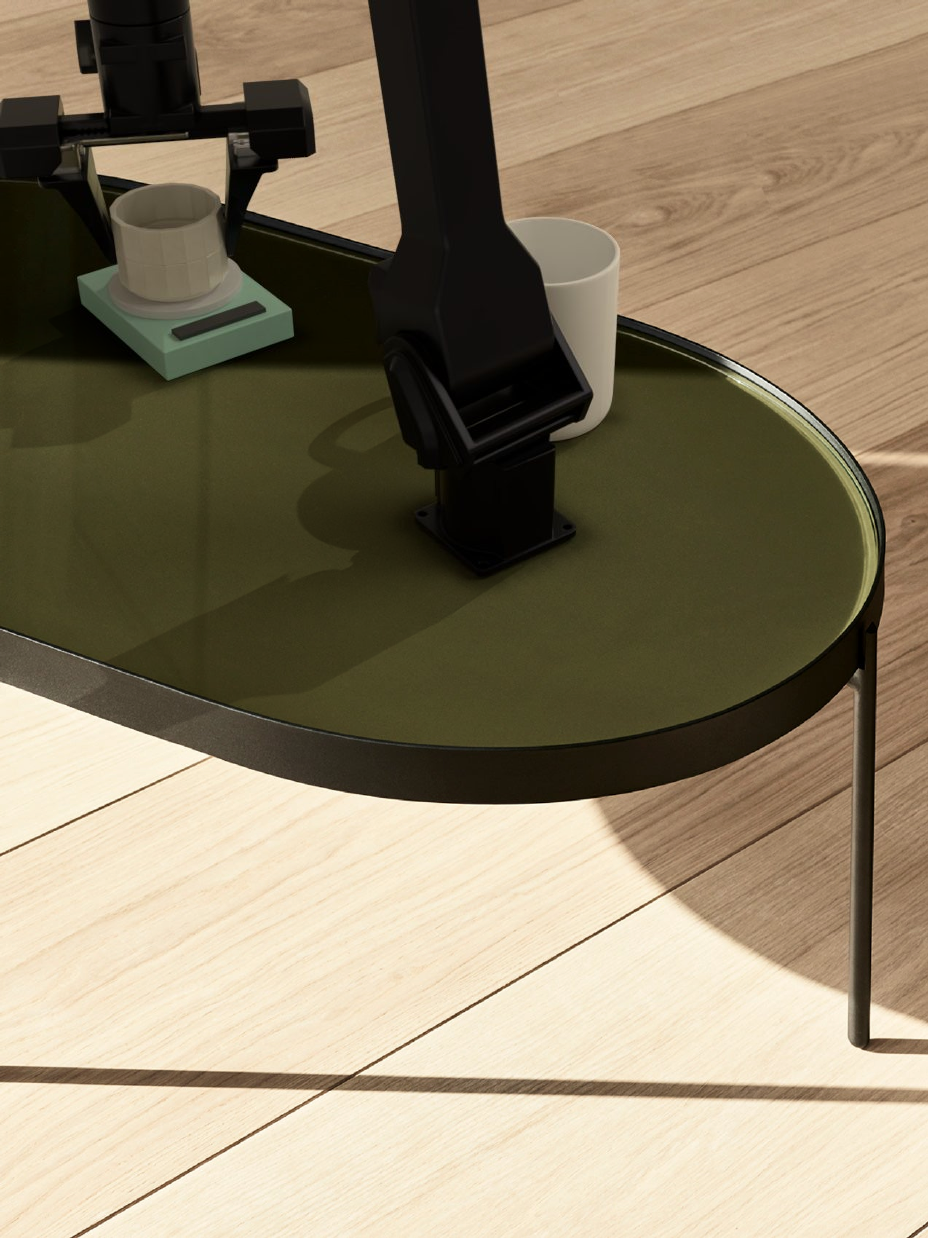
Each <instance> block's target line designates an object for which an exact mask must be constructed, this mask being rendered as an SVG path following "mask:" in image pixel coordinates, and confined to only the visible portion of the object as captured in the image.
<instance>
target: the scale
mask: <svg viewBox="0 0 928 1238" xmlns="http://www.w3.org/2000/svg"><path fill="white" fill-rule="evenodd" d="M228 266H229V272H228V274H227V275H226V277H225V279H224V280H223V281H222V282H221V283H219V285H218V286H217V287H216V288H215V289H213V290H212V291H210V292H209V293H207V294H205V295H203V296H200V297H197V298H194V299H190V300H185V301H177V302H159V301H152V300H148V299H145V298H142V297H140V296H138V295H136V294H135V293H133V292H131V291H130V290H128V289H127V288H126V287H125V286H124V285H123V284H122V283H121V281H120V275H119V268H118V263H117V265H110V266H108V267H105V268H101V269H98V270H95V271H91V272H89V273H85V274H82V275H79V276H77V278H76V280H77V286H78V292H79V296H80V302H81V305H82V306H83V307H85V309H87V310H88V311H89V312H90V313H91V314H92V315H93V316H94V317H96V318H97V319H98V320H99V321H100V322H101V323H102V324H104V325H105V326H106V327H107V328H108V330H110V331H111V332H112V333H113V334H114V335H116V336H117V337H118V338H119V339H120V340H121V341H122V342H123V343H125V344H126V345H127V346H128V347H129V348H130V349H131V350H132V351H134V352H135V353H136V355H138V356H139V357H140V358H141V359H142V360H144V362H146V363H147V364H148V365H149V366H150V367H151V368H152V369H154V371H156V372H157V373H158V374H159V375H161V377H163V378H164V379H165V380H166V381H172V380H175V379H177V378H180V377H183V376H186V375H189V374H192V373H194V372H197V371H200V370H202V369H203V370H204V369H207V368H209V367H212V366H214V365H217V364H220V363H223V362H225V361H228V360H229V361H230V360H231V359H234V358H237V357H240V356H242V355H245V354H248V353H251V352H254V351H256V350H260V349H263V348H265V347H268V346H271V345H275V344H277V343H280V342H283V341H285V340H288V339H291V338H293V337H295V332H294V320H293V310H292V308H291V307H290V306H288V305H287V304H286V303H284V302H283V301H282V300H280V299H279V298H277V296H276V295H274V294H273V293H271V292H270V291H269V290H268V289H266V288H264V287H263V286H262V285H260V284H259V283H258V282H257V281H255V280H254V279H253V278H252V277H250V276H249V275H248V274H246V273H245V272H244V271H242V270H241V268H240V266H239V265H238V263H236V262H235V261H234V260H233V259H231V258H230V257H228Z"/></svg>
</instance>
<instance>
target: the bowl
mask: <svg viewBox="0 0 928 1238" xmlns="http://www.w3.org/2000/svg"><path fill="white" fill-rule="evenodd" d="M108 211H109V218H110V223H111V226H112V230H113V236H114V243H115V249H116V255H117V264H118V268H119V275H120V281H121V283H122V284H123V285H124V286H125V287H126V288H127V289H128V290H130V291H131V292H133V293H135V294H136V295H138V296H140V297H142V298H145V299H148V300H152V301H159V302H177V301H185V300H190V299H194V298H197V297H200V296H203V295H205V294H207V293H209V292H210V291H212V290H213V289H215V288H216V287H217V286H218V285H219V283H221V282H222V281H223V280H224V279H225V277H226V275H227V274H228V272H229V266H228V258H229V256H227V249H226V240H225V228H224V212H223V211H224V210H223V204H222V200H221V197H220V195H218V194H217V193H216V192H214V191H213V190H211V189H210V188H208V187H205V186H202V185H197V184H194V183H187V182H186V183H185V182H163V183H153V184H148V185H144V186H141V187H137V188H134V189H131V190H128V191H127V192H125V193H123V194H121V195H120V196H118V197H116V198H115V200H114V201H113V202H112V204H111V205H110V206H109V209H108Z"/></svg>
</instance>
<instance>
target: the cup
mask: <svg viewBox="0 0 928 1238" xmlns="http://www.w3.org/2000/svg"><path fill="white" fill-rule="evenodd" d="M505 222H506V224H507V225H508V226H509V228H510V229H511V230H512V231H513V233H514V234H515V235H516V236H517V238H518V239H519V240H520V241H521V243H522V244H523V245H524V246H525V248H526V249H527V250H528V251H529V253H530V254H531V255H532V256H533V258H534V259H535V260H536V261H537V263H538V264H539V266H540V268H541V272H542V276H543V281H544V285H545V290H546V294H547V299H548V303H549V308H550V311H551V313H552V315H553V317H554V319H555V320H556V322H557V324H558V326H559V328H560V330H561V332H562V334H563V336H564V337H565V339H566V341H567V343H568V345H569V347H570V349H571V351H572V353H573V354H574V356H575V358H576V360H577V362H578V364H579V366H580V368H581V370H582V371H583V373H584V375H585V377H586V379H587V381H588V383H589V385H590V387H591V388H592V390H593V394H594V396H593V399H592V402H591V404H590V407H589V409H588V412H587V414H586V417H585V419H584V420H582V421H580V422H578V423H572V424H569V425H567V426H565V427H563V428H561V429H559V430H557V431H555V432H553V433H551V434H550V442H558V441H564V440H569V439H573V438H576V437H579V436H582V435H584V434H586V433H588V432H590V431H591V430H593V429H595V428H596V427H597V426H599V424H601V422H602V421H603V420H604V419H605V418H606V416H607V415H608V414H609V411H610V409H611V405H612V401H613V394H614V379H615V362H616V344H617V343H616V342H617V324H618V323H617V322H618V305H619V304H618V302H619V284H620V265H621V249H620V246H619V244H618V242H617V240H616V239H615V238H614V237H613V236H612V235H611V234H610V233H609V232H607V231H605V230H604V229H602V228H600V227H598V226H596V225H593V224H592V223H587V222H585V221H582V220H577V219H572V218H566V217H558V216H557V217H556V216H531V217H523V218H516V219H511V220H508V221H505Z"/></svg>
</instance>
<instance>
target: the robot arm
mask: <svg viewBox="0 0 928 1238" xmlns="http://www.w3.org/2000/svg"><path fill="white" fill-rule="evenodd" d="M367 5H368V11H369V19H370V25H371V30H372V37H373V44H374V51H375V52H374V53H375V58H376V59H375V60H376V64H377V71H378V72H377V73H378V78H379V85H380V91H381V92H380V93H381V98H382V99H381V100H382V106H383V111H384V119H385V125H386V126H385V127H386V131H387V139H388V146H389V151H390V153H389V154H390V158H391V159H390V160H391V165H392V166H391V167H392V173H393V179H394V186H395V192H396V199H397V206H398V212H399V219H400V220H399V221H400V230H401V234H400V237H399V241H398V243H397V246H396V248H395V251H394V254H393V256H392V257H389V258H386V259H384V260H382V261H379V262H376V263H374V264H372V265H370V267H369V273H368V279H367V288H368V291H369V294H370V295H369V296H370V299H371V302H372V303H371V304H372V306H373V311H374V317H375V335H374V341H375V342H374V343H375V344H376V345H377V346H380V345H381V347H382V351H381V353H382V357H381V358H382V359H381V361H382V366H383V369H384V374H385V378H386V381H387V386H388V388H389V391H390V396H391V401H392V404H393V407H394V411H395V416H396V419H397V423H398V427H399V430H400V433H401V437H402V440H403V443H404V444H406V446H408V447H409V448H411V449H413V450H414V451H415V452H416V456H417V457H416V460H417V463H416V464H417V465H418V466H420V467H421V468H423V469H424V470H433V471H434V495H435V498H436V501H435V502H433V503H430V504H428V505H426V506H423V507H421V508H418V509H416V510H415V511H414V512H413V523H414V524H415V525H416V526H418V527H419V528H420V529H421V530H422V531H424V532H425V533H426V534H427V535H428V536H429V537H430V538H432V539H433V540H434V541H435V542H436V543H438V544H439V545H440V546H441V547H442V548H444V549H445V550H446V551H447V552H448V553H450V555H452V556H453V557H454V558H455V559H457V560H458V561H459V562H460V563H461V564H463V565H464V566H465V567H467V569H469V571H471V572H472V573H473V574H475V575H476V576H479V577H488V576H491V575H493V574H495V573H498V572H500V571H502V570H504V569H506V568H509V567H511V566H514V565H516V564H517V563H520V562H522V561H524V560H526V559H529V558H531V557H533V556H535V555H538V554H540V553H542V552H544V551H546V550H548V549H551V548H554V547H555V546H557V545H560V544H562V543H564V542H566V541H568V540H571V539H573V538H574V537H576V536H577V524H575V523H574V522H573V521H572V520H571V519H569V518H568V517H566V516H565V515H564V514H562V513H561V512H560V511H559V510H557V509H556V508H555V492H556V460H557V459H556V458H557V457H556V456H557V455H556V454H557V446H556V445H555V444H554V443H552V441H550V434H551V433H553V432H555V431H557V430H559V429H561V428H563V427H565V426H567V425H569V424H572V423H578V422H580V421H582V420H584V419H585V417H586V414H587V412H588V409H589V407H590V404H591V402H592V399H593V396H594V394H593V390H592V388H591V387H590V385H589V383H588V381H587V379H586V377H585V375H584V373H583V371H582V370H581V368H580V366H579V364H578V362H577V360H576V358H575V356H574V354H573V353H572V351H571V349H570V347H569V345H568V343H567V341H566V339H565V337H564V336H563V334H562V332H561V330H560V328H559V326H558V324H557V322H556V320H555V319H554V317H553V315H552V313H551V311H550V308H549V303H548V299H547V294H546V290H545V285H544V281H543V276H542V272H541V268H540V266H539V264H538V263H537V261H536V260H535V259H534V258H533V256H532V255H531V254H530V253H529V251H528V250H527V249H526V248H525V246H524V245H523V244H522V243H521V241H520V240H519V239H518V238H517V236H516V235H515V234H514V233H513V231H512V230H511V229H510V228H509V226H508V225H507V224H506V222H507V221H506V217H505V214H504V209H503V200H502V192H501V182H500V175H499V166H498V165H499V164H498V158H497V157H498V155H497V149H496V141H495V131H494V123H493V122H494V121H493V113H492V105H491V95H490V89H489V80H488V71H487V61H486V55H485V54H486V53H485V44H484V36H483V27H482V19H481V11H480V1H479V0H367ZM87 9H88V16H89V19H76V20H73V24H74V36H75V47H76V55H77V63H78V69H79V73H80V74H81V75H93V74H94V75H95V74H96V75H97V76H98V81H99V88H100V95H101V103H102V107H103V112H101V111H100V112H87V113H85V112H84V113H73V114H65V109H64V102H63V100H62V97H61V94H49V95H35V96H23V97H22V96H21V97H20V96H19V97H7V98H2V99H1V101H0V178H2V179H5V180H14V179H27V178H37V182H38V186H39V187H40V188H41V189H44V190H51V189H52V190H56V191H57V192H58V193H59V194H60V195H61V197H62V198H63V199H64V200H65V201H66V202H67V204H68V205H69V206H70V207H71V209H72V210H73V211H74V213H76V214H77V216H78V217H79V219H81V221H82V222H83V224H84V225H85V227H86V229H87V230H88V232H89V233H90V235H91V236H92V238H93V239H94V241H95V243H96V244H97V246H98V248H99V249H100V251H101V252H102V254H103V256H104V257H105V259H106V261H107V262H108V264H109V265H110V266H114V265H117V264H118V262H117V255H116V249H115V243H114V236H113V230H112V223H111V218H110V214H109V213H108V209H107V205H106V201H105V198H104V194H103V190H102V187H101V183H100V180H99V176H98V173H97V168H96V164H95V159H94V153H93V148H100V147H113V146H128V145H129V146H130V145H140V144H141V145H142V144H143V145H144V144H154V143H155V144H156V143H158V144H159V143H171V142H172V143H173V142H184V141H197V140H198V141H199V140H211V139H225V185H224V192H225V193H224V217H223V220H224V229H225V240H226V249H227V256H228V257H233V256H234V255H235V252H236V249H237V246H238V241H239V238H240V236H241V235H240V234H241V231H242V227H243V223H244V219H245V217H246V213H247V211H248V207H249V205H250V202H251V201H252V199H253V196H254V194H255V192H256V189H257V187H258V185H259V183H260V181H261V178H262V177H263V175H265V174H270V173H274V172H276V171H278V170H279V167H280V166H279V160H289V159H291V160H292V159H305V158H309V157H311V156H312V155H314V154H315V155H316V154H317V147H316V146H317V145H316V131H315V121H314V112H313V108H312V102H311V97H310V93H309V88H308V87H307V86H306V85H305V84H304V83H303V82H302V81H301V80H300V79H299V78H289V79H287V78H286V79H273V80H260V81H259V80H257V81H243V82H242V90H243V91H242V92H243V101H234V102H231V103H218V104H217V103H215V104H203V105H202V101H201V96H202V86H201V78H200V77H201V76H200V69H199V68H200V67H199V62H198V52H197V48H196V46H195V38H194V29H193V22H192V21H193V20H192V12H191V4H190V0H87Z"/></svg>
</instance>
